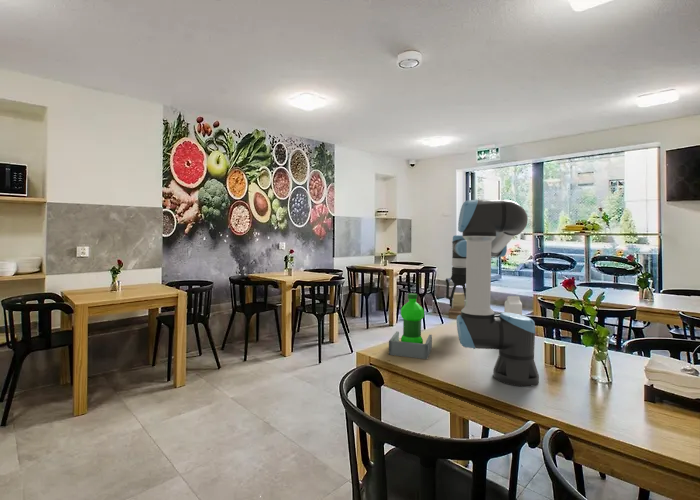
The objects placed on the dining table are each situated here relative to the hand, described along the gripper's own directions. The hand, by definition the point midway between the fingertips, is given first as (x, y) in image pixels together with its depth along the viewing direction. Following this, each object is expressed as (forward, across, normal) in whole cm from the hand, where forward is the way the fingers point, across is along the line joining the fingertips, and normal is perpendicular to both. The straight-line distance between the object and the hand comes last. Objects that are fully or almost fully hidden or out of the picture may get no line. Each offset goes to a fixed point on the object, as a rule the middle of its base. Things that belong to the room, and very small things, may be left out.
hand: (458, 313), depth 185 cm
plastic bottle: (+13, +19, +25) cm, 34 cm away
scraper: (0, 0, 0) cm, 0 cm away
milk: (+13, -25, -4) cm, 28 cm away
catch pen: (+12, +19, +28) cm, 36 cm away
